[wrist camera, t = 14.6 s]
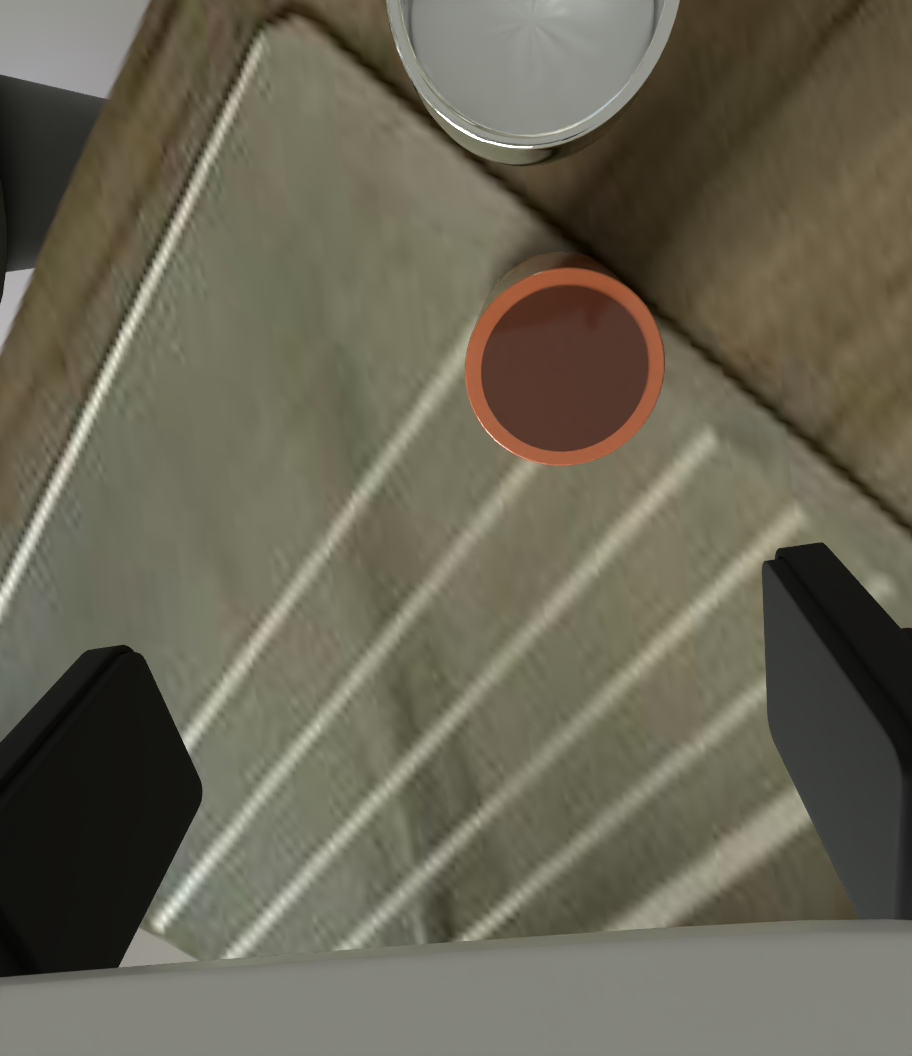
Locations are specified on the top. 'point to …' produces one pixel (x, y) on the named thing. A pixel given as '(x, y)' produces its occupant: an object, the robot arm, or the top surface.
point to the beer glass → (529, 69)
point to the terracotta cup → (563, 360)
